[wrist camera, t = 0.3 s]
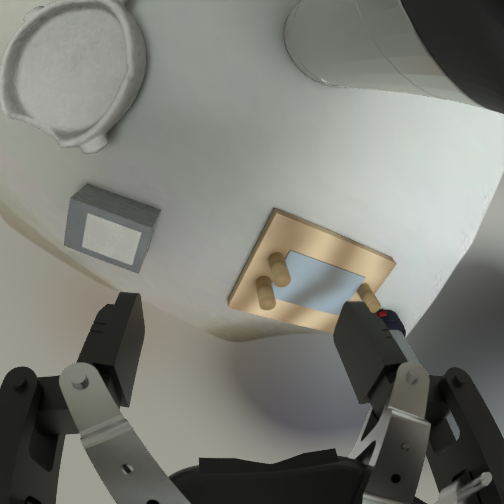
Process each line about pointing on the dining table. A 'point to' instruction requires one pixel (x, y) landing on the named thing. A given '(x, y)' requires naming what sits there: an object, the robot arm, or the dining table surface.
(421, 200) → the dining table surface
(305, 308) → the wooden peg board
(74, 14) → the dish
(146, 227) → the block
